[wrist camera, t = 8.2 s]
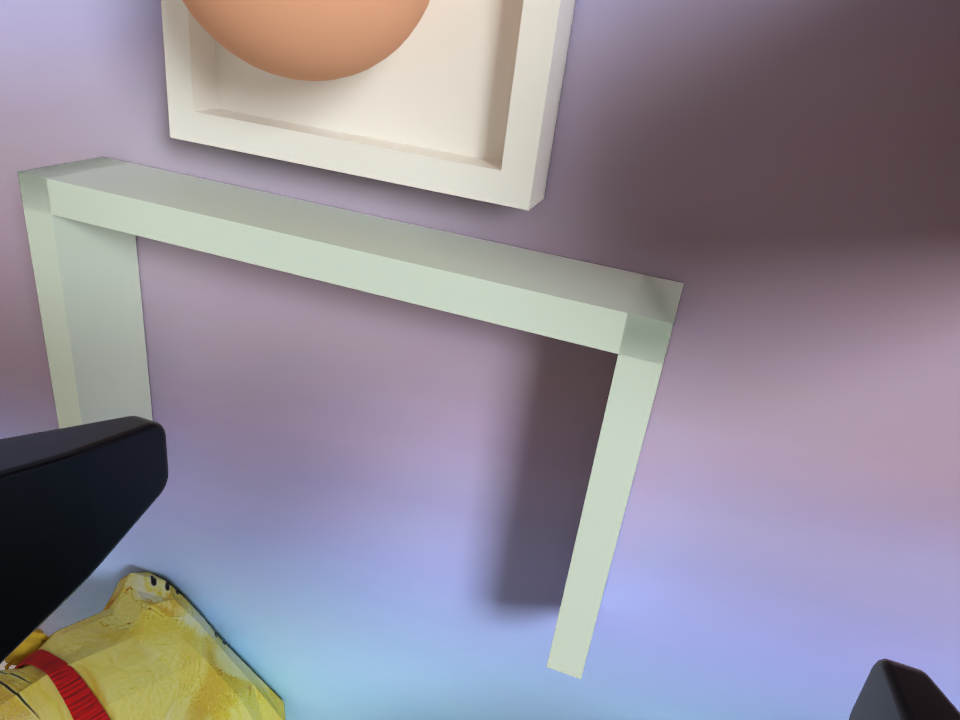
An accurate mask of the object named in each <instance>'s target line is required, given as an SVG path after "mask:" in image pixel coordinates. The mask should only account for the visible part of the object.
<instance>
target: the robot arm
mask: <svg viewBox="0 0 960 720" xmlns="http://www.w3.org/2000/svg"><path fill="white" fill-rule="evenodd" d="M167 479H168V461H167V447H166V434H165V431H164V429H163V427H162V425H160V424H159V423H157V422H154V421H151V420H148V419H145V418H142V417H139V416H127V417H121V418H116V419H110V420H105V421H99V422H94V423H88V424H83V425H77V426H72V427H66V428H61V429H55V430H50V431H44V432H38V433H33V434H27V435H22V436H16V437H11V438H5V439H0V664H1V663H2V661H4V660H5V659H6V658H7V657H8V656H9V655H10V654H11V653H12V652H13V651H14V650H15V649H16V648H17V647H18V646H19V645H20V644H21V643H22V642H23V641H24V640H25V639H26V638H27V637H28V636H29V635H30V634H31V633H32V632H34V631H35V630H36V629H37V628H38V627H39V626H40V625H41V624H42V623H43V622H44V621H45V620H46V619H47V618H48V617H49V616H50V615H51V614H52V613H53V612H54V611H55V610H56V609H57V608H58V607H59V606H60V605H61V604H62V603H63V602H64V601H65V600H66V599H67V598H68V597H69V596H70V595H72V594H73V593H74V592H75V591H76V590H77V588H78V587H79V586H80V585H81V584H82V583H83V582H84V581H85V580H86V579H87V578H88V577H89V576H90V575H91V574H92V573H93V572H94V571H95V569H96V568H97V567H98V566H99V565H100V564H101V563H102V562H103V560H104V559H105V558H106V557H107V556H108V555H109V553H110V552H111V551H112V550H113V549H114V548H115V546H116V545H117V544H118V543H119V542H120V541H121V539H122V538H123V537H124V536H125V535H126V534H127V532H128V531H129V530H130V529H131V528H132V526H133V525H134V524H135V523H136V522H137V521H138V519H139V518H140V517H141V516H142V515H143V514H144V512H145V511H146V510H147V509H148V508H149V507H150V505H151V504H152V503H153V502H154V501H155V500H156V498H157V497H158V496H159V495H160V494H161V492H162V491H163V489H164V487H165V485H166V483H167ZM849 720H960V712H959V711H958V710H957V709H956V708H955V706H954V705H953V704H952V703H951V702H950V701H949V699H948V698H947V697H946V696H945V695H944V694H943V692H942V691H941V690H940V689H939V688H938V687H937V685H936V684H935V683H934V682H933V681H932V679H931V678H930V677H929V676H928V675H927V674H926V673H924V672H923V671H921V670H919V669H916V668H913V667H910V666H907V665H904V664H901V663H898V662H895V661H891V660H888V659H882V660H878V661H877V663H876V664H875V665H874V666H873V668H872V669H871V671H870V674H869V676H868V678H867V680H866V682H865V684H864V686H863V688H862V690H861V692H860V694H859V697H858V699H857V701H856V703H855V705H854V707H853V709H852V712H851V714H850V718H849Z"/></svg>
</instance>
